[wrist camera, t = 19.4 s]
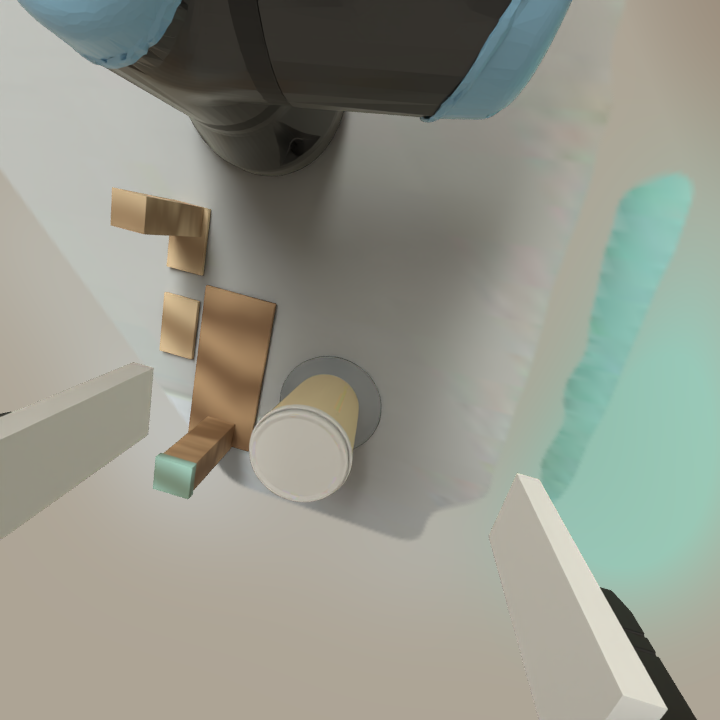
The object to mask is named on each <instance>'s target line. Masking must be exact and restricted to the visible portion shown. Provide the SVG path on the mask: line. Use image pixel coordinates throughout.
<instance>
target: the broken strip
mask: <svg viewBox="0 0 720 720" xmlns="http://www.w3.org/2000/svg"><path fill="white" fill-rule="evenodd" d="M210 213H211V209H207V208H203V207H200V206H196V205H192V204H188V203H185V202H181V201H177V200H173V199H172V200H171V199H167V198H162V197H157V196H152V195H147V194H142V193H137V192H132V191H127V190H123V189H118V188H113V187H112V206H111V225H112V226H116V227H119V228H123V229H127V230H130V231H134V232H138V233H141V234H150V235H169V246H168V258H167V266H168V267H172V268H176V269H179V270H183V271H186V272H190V273H194V274H197V275H203V273H204V265H205V256H206V248H207V239H208V230H209V222H210ZM199 308H200V301H197V300H194V299H190V298H187V297H183V296H179V295H176V294H172V293H169V292H165V293H164V304H163V316H162V328H161V339H160V350H161V351H164V352H168V353H171V354H175V355H178V356H182V357H185V358H189V359H193V358H194V351H195V342H196V333H197V325H198V316H199Z"/></svg>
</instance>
